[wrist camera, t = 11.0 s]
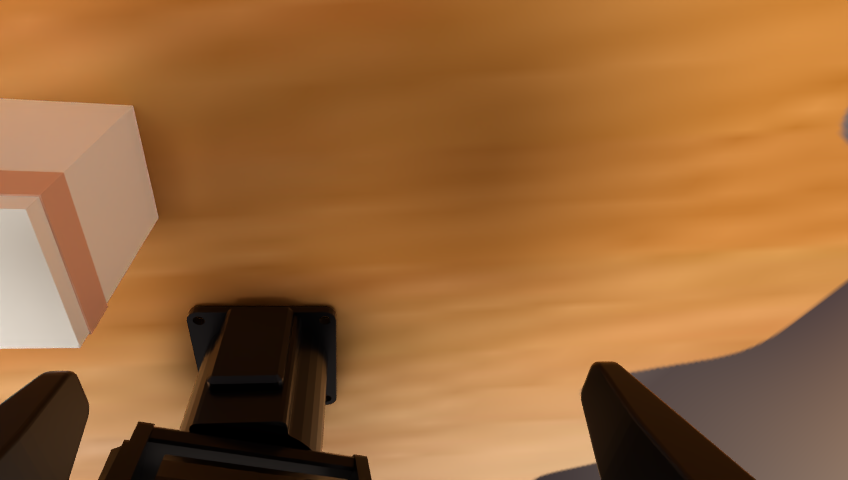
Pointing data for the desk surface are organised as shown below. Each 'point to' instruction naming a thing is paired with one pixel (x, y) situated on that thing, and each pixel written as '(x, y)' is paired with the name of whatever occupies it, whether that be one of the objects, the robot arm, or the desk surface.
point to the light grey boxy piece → (67, 216)
